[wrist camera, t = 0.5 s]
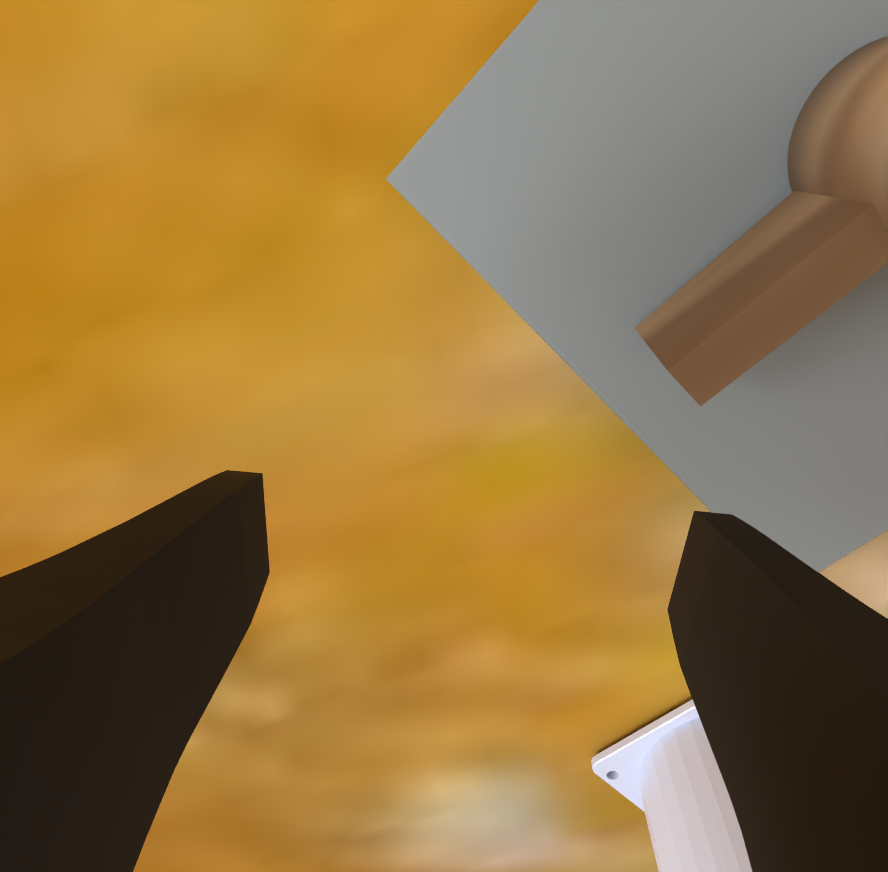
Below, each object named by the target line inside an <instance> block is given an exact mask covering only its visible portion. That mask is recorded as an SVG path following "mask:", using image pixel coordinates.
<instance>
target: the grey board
mask: <svg viewBox="0 0 888 872" xmlns="http://www.w3.org/2000/svg"><path fill="white" fill-rule="evenodd" d="M886 36H888V0H539V1H538V3H537V4H536V5H535V6H534V7H533V8H532V10H531V11H530V12H529V13H528V14H527V15H526V17H525V18H524V19H523V20H522V21H521V22H520V24H519V25H518V26H517V27H516V28H515V29H514V31H513V32H512V33H511V34H510V35H509V36H508V38H507V39H506V40H505V41H504V42H503V43H502V45H501V46H500V47H499V48H498V49H497V50H496V52H495V53H494V54H493V55H492V56H491V57H490V59H489V60H488V61H487V62H486V63H485V64H484V66H483V67H482V68H481V69H480V70H479V71H478V73H477V74H476V75H475V76H474V77H473V78H472V79H471V81H470V82H469V83H468V84H467V85H466V86H465V88H464V89H463V90H462V91H461V92H460V93H459V95H458V96H457V97H456V98H455V99H454V100H453V102H452V103H451V104H450V105H449V106H448V107H447V109H446V110H445V111H444V112H443V113H442V114H441V116H440V117H439V118H438V119H437V120H436V121H435V123H434V124H433V125H432V126H431V127H430V128H429V130H428V131H427V132H426V133H425V134H424V135H423V137H422V138H421V139H420V140H419V141H418V142H417V144H416V145H415V146H414V147H413V148H412V149H411V151H410V152H409V153H408V154H407V155H406V156H405V158H404V159H403V160H402V161H401V162H400V163H399V164H398V166H397V167H396V168H395V169H394V170H393V171H392V173H391V174H390V175H389V176H388V177H387V178H386V179H387V180H388V181H389V182H390V183H391V184H392V186H393V187H394V188H395V189H396V190H397V191H398V192H399V193H400V194H401V195H402V196H403V197H404V198H405V199H406V200H407V201H408V202H409V203H410V204H411V205H412V206H413V207H414V208H415V209H416V210H417V211H418V212H419V213H420V214H421V215H422V216H423V217H424V218H425V219H426V220H427V221H428V222H429V223H430V224H431V225H432V226H433V227H434V228H435V229H436V230H437V232H438V233H439V234H440V235H441V236H442V237H443V238H444V239H445V240H446V241H447V242H448V243H449V244H450V245H451V246H452V247H453V248H454V249H455V250H456V251H457V252H458V253H459V254H460V255H461V256H462V257H463V258H464V259H465V260H466V261H467V262H468V263H469V264H470V265H471V266H472V267H473V268H474V269H475V270H476V271H477V272H478V273H479V274H480V275H481V276H482V278H483V279H484V280H485V281H486V282H487V283H488V284H489V285H490V286H491V287H492V288H493V289H494V290H495V291H496V292H497V293H498V294H499V295H500V296H501V297H502V298H503V299H504V300H505V301H506V302H507V303H508V304H509V305H510V306H511V307H512V308H513V309H514V310H515V311H516V312H517V313H518V314H519V315H520V316H521V317H522V318H523V319H524V320H525V321H526V323H527V324H528V325H529V326H530V327H531V328H532V329H533V330H534V331H535V332H536V333H537V334H538V335H539V336H540V337H541V338H542V339H543V340H544V341H545V342H546V343H547V344H548V345H549V346H550V347H551V348H552V349H553V350H554V351H555V352H556V353H557V354H558V355H559V356H560V357H561V358H562V359H563V360H564V361H565V362H566V363H567V364H568V365H569V366H570V367H571V369H572V370H573V371H574V372H575V373H576V374H577V375H578V376H579V377H580V378H581V379H582V380H583V381H584V382H585V383H586V384H587V385H588V386H589V387H590V388H591V389H592V390H593V391H594V392H595V393H596V394H597V395H598V396H599V397H600V398H601V399H602V400H603V401H604V402H605V403H606V404H607V405H608V406H609V407H610V408H611V409H612V410H613V411H614V412H615V414H616V415H617V416H618V417H619V418H620V419H621V420H622V421H623V422H624V423H625V424H626V425H627V426H628V427H629V428H630V429H631V430H632V431H633V432H634V433H635V434H636V435H637V436H638V437H639V438H640V439H641V440H642V441H643V442H644V443H645V444H646V445H647V446H648V447H649V448H650V449H651V450H652V451H653V452H654V453H655V454H656V455H657V456H658V457H659V458H660V460H661V461H662V462H663V463H664V464H665V465H666V466H667V467H668V468H669V469H670V470H671V471H672V472H673V473H674V474H675V475H676V476H677V477H678V478H679V479H680V480H681V481H682V482H683V483H684V484H685V485H686V486H687V487H688V488H689V489H690V490H691V491H692V492H693V493H694V494H695V495H696V496H697V497H698V498H699V499H700V500H701V501H702V502H703V503H704V504H705V506H706V507H707V508H708V509H709V510H710V511H711V512H712V513H722V514H732V515H734V516H736V517H738V518H739V519H741V520H743V521H744V522H746V523H748V524H749V525H751V526H752V527H754V528H755V529H757V530H758V531H760V532H761V533H763V534H764V535H766V536H767V537H769V538H770V539H771V540H773V541H774V542H776V543H777V544H779V545H780V546H781V547H783V548H784V549H786V550H787V551H788V552H790V553H791V554H793V555H794V556H796V557H797V558H798V559H800V560H801V561H803V562H804V563H805V564H807V565H808V566H810V567H811V568H813V569H814V570H815V571H817V572H820V571H821V570H823V569H825V568H826V567H828V566H829V565H831V564H833V563H834V562H836V561H838V560H839V559H841V558H843V557H844V556H846V555H847V554H849V553H851V552H852V551H854V550H856V549H857V548H859V547H861V546H862V545H864V544H865V543H867V542H869V541H870V540H872V539H874V538H875V537H877V536H879V535H880V534H882V533H884V532H885V531H887V530H888V263H887V264H885V265H884V266H883V267H881V268H880V269H879V270H877V271H876V272H875V273H874V274H872V275H871V276H870V277H868V278H867V279H866V280H864V281H863V282H862V283H861V284H859V285H858V286H857V287H855V288H854V289H853V290H851V291H850V292H849V293H848V294H846V295H845V296H844V297H842V298H841V299H840V300H838V301H837V302H836V303H835V304H833V305H832V306H831V307H829V308H828V309H827V310H825V311H824V312H823V313H822V314H820V315H819V316H818V317H816V318H815V319H814V320H812V321H811V322H810V323H809V324H807V325H806V326H805V327H803V328H802V329H801V330H799V331H798V332H797V333H796V334H794V335H793V336H792V337H790V338H789V339H788V340H786V341H785V342H784V343H783V344H781V345H780V346H779V347H777V348H776V349H775V350H773V351H772V352H771V353H770V354H768V355H767V356H766V357H764V358H763V359H762V360H760V361H759V362H758V363H757V364H755V365H754V366H753V367H751V368H750V369H749V370H747V371H746V372H745V373H744V374H742V375H741V376H740V377H738V378H737V379H736V380H734V381H733V382H732V383H731V384H729V385H728V386H727V387H725V388H724V389H723V390H721V391H720V392H719V393H718V394H716V395H715V396H714V397H712V398H711V399H710V400H708V401H707V402H706V403H705V404H703V405H702V406H701V407H700V405H699V404H698V403H697V402H696V401H695V400H694V399H693V398H692V397H691V396H690V395H689V393H688V392H687V391H686V390H685V389H684V388H683V387H682V386H681V385H680V384H679V383H678V382H677V380H676V379H675V378H674V377H673V376H672V375H671V374H670V373H669V372H668V371H667V369H666V368H665V367H664V366H663V364H662V363H661V362H660V360H659V359H658V358H657V357H656V355H655V354H654V353H653V351H652V350H651V349H650V348H649V346H648V345H647V344H646V342H645V341H644V340H643V339H642V337H641V336H640V335H639V333H638V332H637V331H636V330H635V327H636V326H637V325H638V324H640V323H641V322H642V321H643V320H644V319H645V318H647V317H648V316H649V315H650V314H651V313H652V312H654V311H655V310H656V309H657V308H658V307H659V306H661V305H662V304H663V303H664V302H665V301H666V300H668V299H669V298H670V297H671V296H672V295H673V294H675V293H676V292H677V291H678V290H679V289H680V288H682V287H683V286H684V285H685V284H686V283H687V282H689V281H690V280H691V279H692V278H693V277H694V276H696V275H697V274H698V273H699V272H700V271H701V270H702V269H704V268H705V267H706V266H707V265H708V264H709V263H711V262H712V261H713V260H714V259H715V258H716V257H718V256H719V255H720V254H721V253H722V252H723V251H725V250H726V249H727V248H728V247H729V246H730V245H732V244H733V243H734V242H735V241H736V240H737V239H739V238H740V237H741V236H742V235H743V234H744V233H746V232H747V231H748V230H749V229H750V228H751V227H753V226H754V225H755V224H756V223H757V222H758V221H760V220H761V219H762V218H763V217H764V216H765V215H766V214H768V213H769V212H770V211H771V210H772V209H773V208H775V207H776V206H777V205H778V204H779V203H780V202H782V201H783V200H784V199H785V198H786V197H787V196H789V195H790V194H791V193H792V190H791V187H790V183H789V178H788V169H787V159H788V149H789V142H790V138H791V135H792V131H793V128H794V125H795V122H796V120H797V117H798V115H799V113H800V111H801V109H802V107H803V105H804V103H805V102H806V100H807V99H808V97H809V95H810V94H811V92H812V91H813V89H814V88H815V87H816V86H817V85H818V83H819V82H820V81H821V80H822V78H823V77H824V76H825V75H826V74H827V73H828V72H829V71H830V70H831V69H832V68H833V67H834V66H835V65H837V64H838V63H839V62H840V61H842V60H843V59H844V58H845V57H847V56H848V55H850V54H851V53H853V52H854V51H856V50H857V49H859V48H861V47H863V46H865V45H867V44H868V43H870V42H873V41H875V40H878V39H881V38H883V37H886Z"/></svg>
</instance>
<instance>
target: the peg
mask: <svg viewBox="0 0 888 872" xmlns="http://www.w3.org/2000/svg"><path fill="white" fill-rule="evenodd" d="M787 169H788V178H789V183H790V187H791V190H792V193H791V194H790V195H789V196H787V197H786V198H785V199H784V200H783V201H782V202H780V203H779V204H778V205H777V206H776V207H775V208H773V209H772V210H771V211H770V212H769V213H768V214H766V215H765V216H764V217H763V218H762V219H761V220H760V221H758V222H757V223H756V224H755V225H754V226H753V227H751V228H750V229H749V230H748V231H747V232H746V233H744V234H743V235H742V236H741V237H740V238H739V239H737V240H736V241H735V242H734V243H733V244H732V245H730V246H729V247H728V248H727V249H726V250H725V251H723V252H722V253H721V254H720V255H719V256H718V257H716V258H715V259H714V260H713V261H712V262H711V263H709V264H708V265H707V266H706V267H705V268H704V269H702V270H701V271H700V272H699V273H698V274H697V275H696V276H694V277H693V278H692V279H691V280H690V281H689V282H687V283H686V284H685V285H684V286H683V287H682V288H680V289H679V290H678V291H677V292H676V293H675V294H673V295H672V296H671V297H670V298H669V299H668V300H666V301H665V302H664V303H663V304H662V305H661V306H659V307H658V308H657V309H656V310H655V311H654V312H652V313H651V314H650V315H649V316H648V317H647V318H645V319H644V320H643V321H642V322H641V323H640V324H638V325H637V326H636V327H635V330H636V331H637V332H638V333H639V335H640V336H641V337H642V339H643V340H644V341H645V342H646V344H647V345H648V346H649V348H650V349H651V350H652V351H653V353H654V354H655V355H656V357H657V358H658V359H659V360H660V362H661V363H662V364H663V366H664V367H665V368H666V369H667V371H668V372H669V373H670V374H671V375H672V376H673V377H674V378H675V379H676V380H677V382H678V383H679V384H680V385H681V386H682V387H683V388H684V389H685V390H686V391H687V392H688V393H689V395H690V396H691V397H692V398H693V399H694V400H695V401H696V402H697V403H698V404H699V405H700V407H701V406H702V405H703V404H705V403H706V402H707V401H708V400H710V399H711V398H712V397H714V396H715V395H716V394H718V393H719V392H720V391H721V390H723V389H724V388H725V387H727V386H728V385H729V384H731V383H732V382H733V381H734V380H736V379H737V378H738V377H740V376H741V375H742V374H744V373H745V372H746V371H747V370H749V369H750V368H751V367H753V366H754V365H755V364H757V363H758V362H759V361H760V360H762V359H763V358H764V357H766V356H767V355H768V354H770V353H771V352H772V351H773V350H775V349H776V348H777V347H779V346H780V345H781V344H783V343H784V342H785V341H786V340H788V339H789V338H790V337H792V336H793V335H794V334H796V333H797V332H798V331H799V330H801V329H802V328H803V327H805V326H806V325H807V324H809V323H810V322H811V321H812V320H814V319H815V318H816V317H818V316H819V315H820V314H822V313H823V312H824V311H825V310H827V309H828V308H829V307H831V306H832V305H833V304H835V303H836V302H837V301H838V300H840V299H841V298H842V297H844V296H845V295H846V294H848V293H849V292H850V291H851V290H853V289H854V288H855V287H857V286H858V285H859V284H861V283H862V282H863V281H864V280H866V279H867V278H868V277H870V276H871V275H872V274H874V273H875V272H876V271H877V270H879V269H880V268H881V267H883V266H884V265H885V264H887V263H888V36H886V37H883V38H881V39H878V40H875V41H873V42H870V43H868V44H867V45H865V46H863V47H861V48H859V49H857V50H856V51H854V52H853V53H851V54H850V55H848V56H847V57H845V58H844V59H843V60H842V61H840V62H839V63H838V64H837V65H835V66H834V67H833V68H832V69H831V70H830V71H829V72H828V73H827V74H826V75H825V76H824V77H823V78H822V80H821V81H820V82H819V83H818V85H817V86H816V87H815V88H814V89H813V91H812V92H811V94H810V95H809V97H808V99H807V100H806V102H805V103H804V105H803V107H802V109H801V111H800V113H799V115H798V117H797V120H796V122H795V125H794V128H793V131H792V135H791V138H790V142H789V149H788V159H787Z"/></svg>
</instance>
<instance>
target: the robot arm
mask: <svg viewBox="0 0 888 872" xmlns="http://www.w3.org/2000/svg"><path fill="white" fill-rule="evenodd" d="M268 575H269V558H268V544H267V531H266V517H265V503H264V489H263V476H262V473H252V472H240V471H229V470H227V471H224V472H222V473H219V474H217V475H215V476H213V477H210V478H208V479H206V480H204V481H202V482H200V483H198V484H196V485H195V486H193V487H191V488H189V489H187V490H185V491H183V492H181V493H179V494H177V495H176V496H174V497H172V498H170V499H168V500H166V501H164V502H162V503H160V504H159V505H157V506H155V507H153V508H151V509H149V510H147V511H145V512H143V513H141V514H140V515H138V516H136V517H134V518H132V519H130V520H128V521H126V522H124V523H122V524H120V525H118V526H116V527H114V528H112V529H109V530H107V531H105V532H103V533H101V534H99V535H97V536H95V537H93V538H91V539H89V540H86V541H84V542H82V543H80V544H78V545H76V546H74V547H72V548H70V549H68V550H66V551H63V552H61V553H59V554H57V555H54V556H52V557H50V558H47V559H45V560H43V561H40V562H38V563H36V564H33V565H31V566H28V567H26V568H23V569H21V570H18V571H16V572H13V573H10V574H8V575H5V576H3V577H0V872H133V870H134V867H135V865H136V862H137V860H138V857H139V854H140V852H141V849H142V847H143V844H144V842H145V839H146V837H147V834H148V832H149V829H150V827H151V825H152V822H153V820H154V817H155V815H156V812H157V810H158V808H159V805H160V803H161V800H162V798H163V796H164V793H165V791H166V788H167V786H168V784H169V781H170V779H171V776H172V774H173V772H174V769H175V767H176V765H177V763H178V761H179V759H180V757H181V755H182V753H183V751H184V749H185V747H186V745H187V743H188V741H189V739H190V737H191V735H192V733H193V731H194V729H195V728H196V726H197V724H198V722H199V720H200V718H201V716H202V715H203V713H204V711H205V709H206V707H207V705H208V703H209V702H210V700H211V698H212V696H213V694H214V692H215V690H216V689H217V687H218V685H219V683H220V681H221V679H222V677H223V675H224V674H225V672H226V670H227V668H228V666H229V664H230V662H231V661H232V659H233V657H234V655H235V653H236V651H237V649H238V647H239V645H240V643H241V642H242V640H243V638H244V636H245V634H246V632H247V630H248V628H249V626H250V624H251V622H252V619H253V616H254V614H255V611H256V609H257V606H258V603H259V601H260V598H261V595H262V592H263V590H264V587H265V584H266V581H267V578H268ZM668 614H669V619H670V623H671V628H672V633H673V638H674V642H675V646H676V650H677V654H678V659H679V663H680V666H681V669H682V672H683V675H684V677H685V680H686V683H687V686H688V688H689V691H690V694H691V696H692V700H690V701H688V702H687V703H685V704H683V705H682V706H680V707H678V708H676V709H675V710H673V711H671V712H669V713H668V714H666V715H664V716H663V717H661V718H659V719H657V720H656V721H654V722H652V723H650V724H649V725H647V726H645V727H643V728H642V729H640V730H638V731H637V732H635V733H633V734H631V735H630V736H628V737H626V738H624V739H623V740H621V741H619V742H618V743H616V744H614V745H612V746H611V747H609V748H607V749H605V750H604V751H602V752H600V753H598V754H597V755H595V756H594V757H593V758H592V760H591V762H592V768H593V771H594V772H595V774H597V775H598V776H599V777H601V778H602V779H603V780H604V781H606V782H607V783H608V784H609V785H611V786H612V787H613V788H615V789H616V790H617V791H618V792H620V793H621V794H622V795H624V796H625V797H626V798H627V799H629V800H630V801H631V802H632V803H634V804H635V805H636V806H638V807H639V808H640V809H641V810H643V811H644V812H645V815H646V819H647V823H648V827H649V832H650V836H651V840H652V845H653V849H654V853H655V858H656V862H657V866H658V871H659V872H888V619H887V618H885V617H884V616H882V615H881V614H879V613H878V612H876V611H874V610H873V609H871V608H870V607H868V606H867V605H865V604H864V603H862V602H861V601H859V600H858V599H856V598H855V597H853V596H852V595H850V594H849V593H847V592H846V591H844V590H843V589H841V588H840V587H838V586H837V585H836V584H834V583H833V582H831V581H830V580H828V579H827V578H825V577H824V576H823V575H821V574H820V573H818V572H817V571H815V570H814V569H813V568H811V567H810V566H808V565H807V564H805V563H804V562H803V561H801V560H800V559H798V558H797V557H796V556H794V555H793V554H791V553H790V552H788V551H787V550H786V549H784V548H783V547H781V546H780V545H779V544H777V543H776V542H774V541H773V540H771V539H770V538H769V537H767V536H766V535H764V534H763V533H761V532H760V531H758V530H757V529H755V528H754V527H752V526H751V525H749V524H748V523H746V522H744V521H743V520H741V519H739V518H738V517H736V516H734V515H732V514H722V513H711V512H699V511H694V514H693V517H692V521H691V525H690V528H689V532H688V536H687V539H686V543H685V547H684V551H683V554H682V558H681V562H680V565H679V569H678V573H677V576H676V580H675V584H674V588H673V591H672V595H671V599H670V602H669V606H668Z"/></svg>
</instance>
